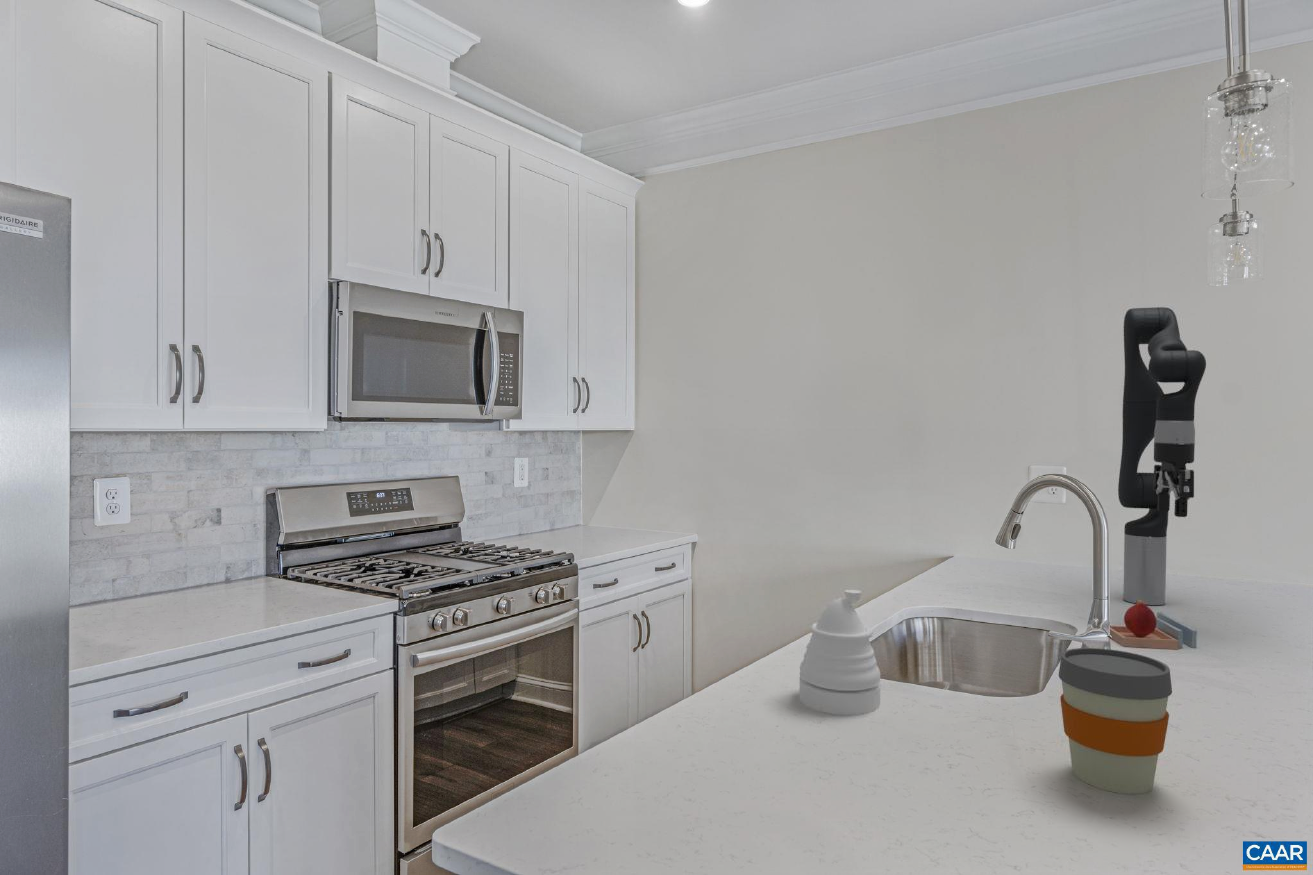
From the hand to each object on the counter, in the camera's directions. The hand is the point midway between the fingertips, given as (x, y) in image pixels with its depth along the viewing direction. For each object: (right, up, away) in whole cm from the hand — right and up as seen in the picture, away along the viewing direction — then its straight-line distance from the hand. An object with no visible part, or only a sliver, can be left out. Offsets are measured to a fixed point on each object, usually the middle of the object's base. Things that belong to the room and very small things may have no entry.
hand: (1171, 513), depth 175 cm
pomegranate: (-13, -25, -9) cm, 30 cm away
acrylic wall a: (-3, -26, -6) cm, 27 cm away
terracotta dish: (-13, -26, -10) cm, 30 cm away
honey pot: (-85, -26, -46) cm, 100 cm away
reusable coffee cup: (-56, -27, -74) cm, 97 cm away
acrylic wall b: (-6, -26, -7) cm, 27 cm away
